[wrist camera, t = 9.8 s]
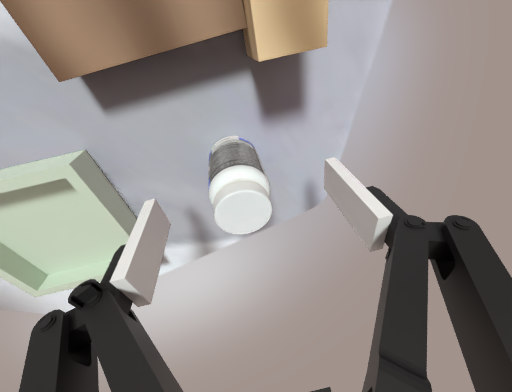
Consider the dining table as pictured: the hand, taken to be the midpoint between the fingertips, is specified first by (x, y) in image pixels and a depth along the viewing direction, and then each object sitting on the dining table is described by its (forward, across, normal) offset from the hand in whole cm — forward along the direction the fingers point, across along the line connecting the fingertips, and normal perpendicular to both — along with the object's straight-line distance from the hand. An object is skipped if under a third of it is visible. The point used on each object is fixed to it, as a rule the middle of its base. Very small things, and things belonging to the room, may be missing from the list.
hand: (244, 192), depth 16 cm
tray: (+5, -19, -3) cm, 20 cm away
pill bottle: (+6, 0, 0) cm, 6 cm away
